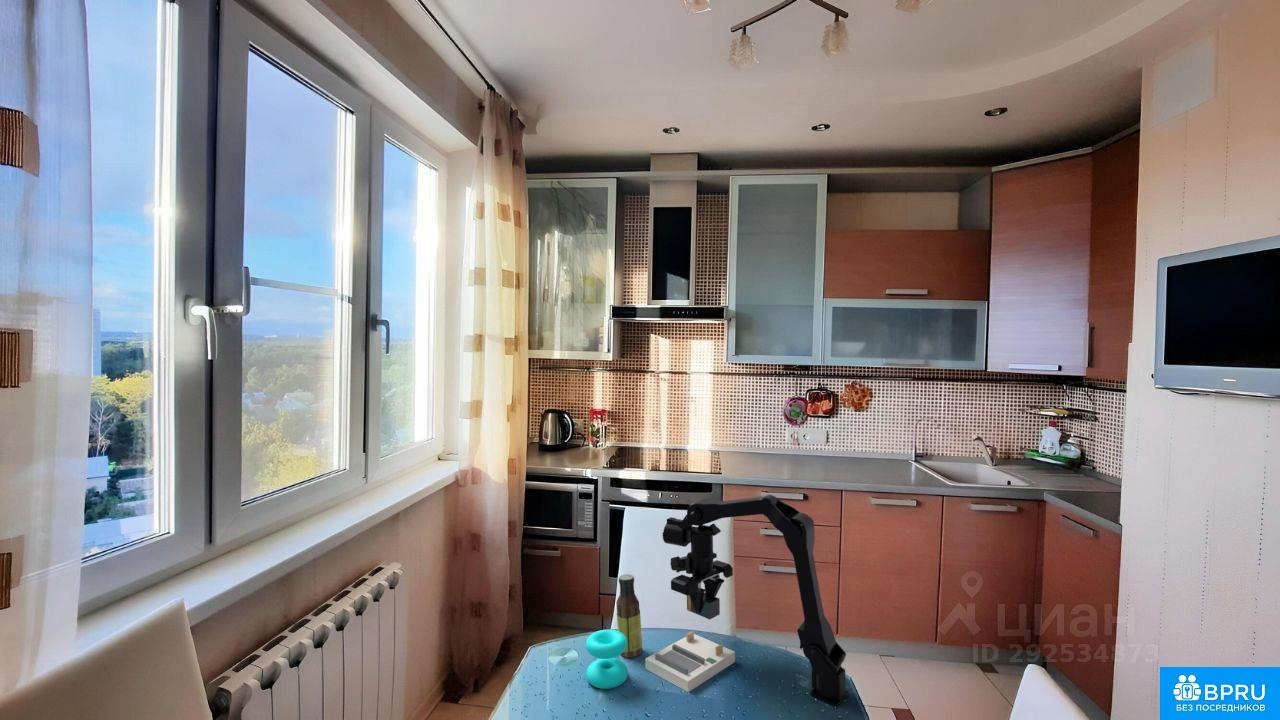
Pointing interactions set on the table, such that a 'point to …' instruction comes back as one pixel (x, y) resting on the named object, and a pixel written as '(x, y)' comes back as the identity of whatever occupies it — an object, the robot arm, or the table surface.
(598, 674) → the donuts
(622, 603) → the sauce bottle
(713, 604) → the battery
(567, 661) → the table surface
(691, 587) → the robot arm
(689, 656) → the cradle
